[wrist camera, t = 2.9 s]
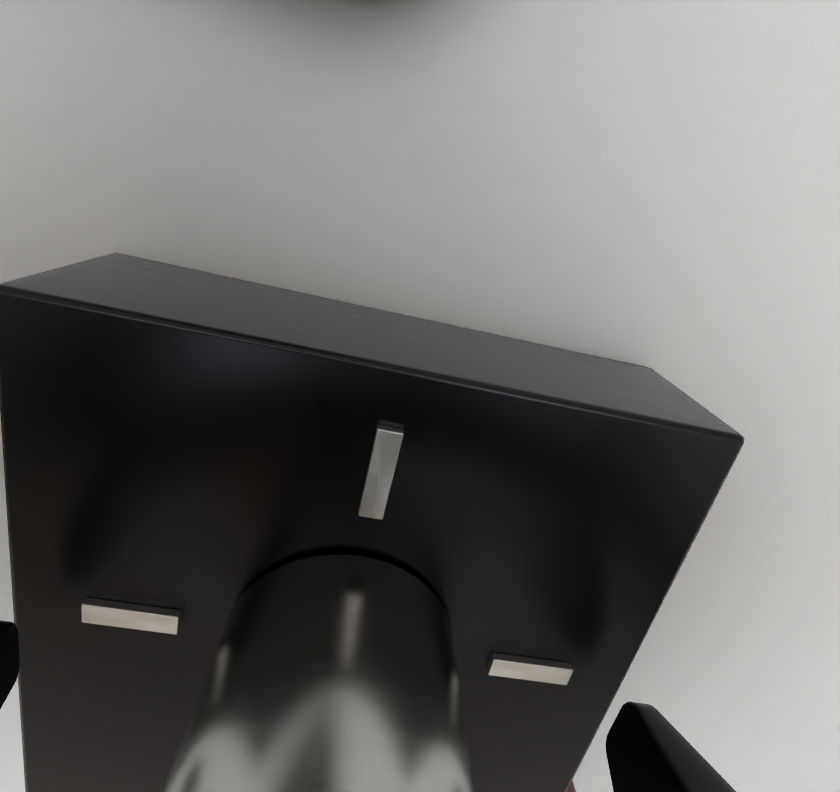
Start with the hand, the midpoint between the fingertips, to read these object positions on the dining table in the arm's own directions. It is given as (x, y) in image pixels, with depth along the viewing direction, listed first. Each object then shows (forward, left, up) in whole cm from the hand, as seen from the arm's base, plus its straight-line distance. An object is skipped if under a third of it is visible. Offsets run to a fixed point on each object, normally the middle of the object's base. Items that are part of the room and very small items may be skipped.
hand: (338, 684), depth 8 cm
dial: (0, 0, -1) cm, 1 cm away
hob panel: (0, 0, -4) cm, 4 cm away
